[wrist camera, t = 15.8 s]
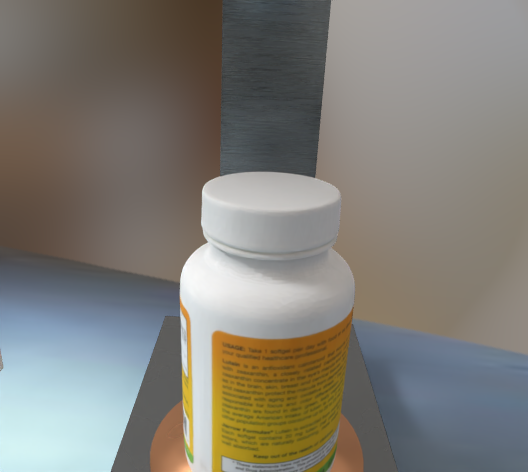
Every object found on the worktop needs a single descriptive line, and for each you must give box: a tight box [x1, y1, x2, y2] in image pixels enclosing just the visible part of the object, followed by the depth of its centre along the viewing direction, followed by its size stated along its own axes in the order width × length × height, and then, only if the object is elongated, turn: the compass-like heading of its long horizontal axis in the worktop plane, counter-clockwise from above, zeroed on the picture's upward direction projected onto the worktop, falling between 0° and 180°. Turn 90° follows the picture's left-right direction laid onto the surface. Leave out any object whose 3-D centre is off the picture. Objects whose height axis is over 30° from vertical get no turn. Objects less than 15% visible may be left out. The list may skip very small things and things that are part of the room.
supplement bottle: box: [180, 172, 355, 472], centre depth 16 cm, size 5×5×10 cm
